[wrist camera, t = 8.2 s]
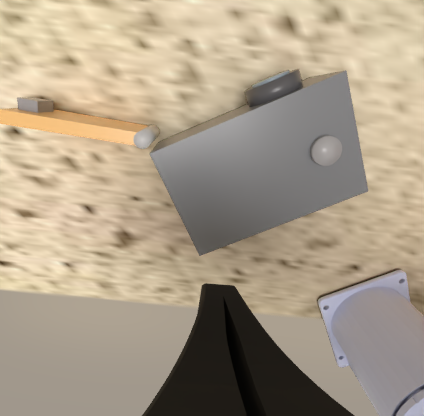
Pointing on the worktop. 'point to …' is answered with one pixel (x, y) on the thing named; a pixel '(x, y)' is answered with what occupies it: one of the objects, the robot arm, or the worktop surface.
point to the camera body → (265, 159)
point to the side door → (76, 123)
